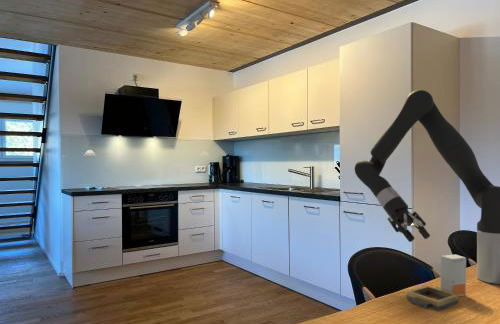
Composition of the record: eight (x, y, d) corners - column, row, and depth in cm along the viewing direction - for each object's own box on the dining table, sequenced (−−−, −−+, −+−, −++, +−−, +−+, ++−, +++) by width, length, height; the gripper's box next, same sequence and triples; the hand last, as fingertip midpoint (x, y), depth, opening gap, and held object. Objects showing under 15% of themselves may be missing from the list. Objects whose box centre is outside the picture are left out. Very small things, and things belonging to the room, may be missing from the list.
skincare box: (450, 297, 111) (450, 258, 111) (440, 292, 116) (440, 255, 116) (466, 295, 113) (466, 257, 113) (455, 291, 117) (455, 254, 117)
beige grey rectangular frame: (429, 292, 116) (429, 284, 116) (461, 302, 108) (461, 294, 108) (404, 300, 110) (403, 292, 110) (435, 312, 101) (435, 303, 101)
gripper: (384, 196, 128) (414, 234, 118) (410, 194, 135) (440, 230, 125) (372, 210, 132) (400, 247, 123) (398, 207, 140) (425, 242, 130)
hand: (420, 239), depth 124 cm, fingers open, 8 cm apart
